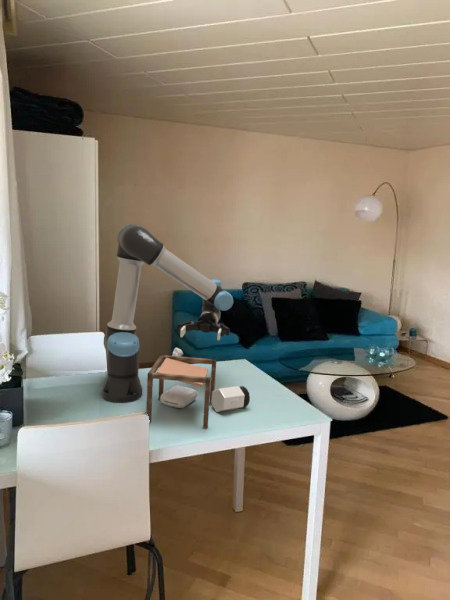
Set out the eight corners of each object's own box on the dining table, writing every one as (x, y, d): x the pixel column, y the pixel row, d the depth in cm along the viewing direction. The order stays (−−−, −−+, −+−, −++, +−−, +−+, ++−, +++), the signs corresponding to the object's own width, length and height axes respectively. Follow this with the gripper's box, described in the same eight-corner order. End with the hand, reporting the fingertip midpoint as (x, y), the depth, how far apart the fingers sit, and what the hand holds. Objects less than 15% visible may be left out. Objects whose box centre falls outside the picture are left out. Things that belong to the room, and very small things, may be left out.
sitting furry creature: (160, 372, 213) (161, 346, 211) (176, 369, 218) (178, 343, 216) (171, 379, 206) (172, 352, 204) (188, 375, 211) (189, 349, 209)
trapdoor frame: (146, 422, 164) (147, 373, 160) (159, 398, 184) (160, 354, 181) (207, 428, 162) (210, 379, 159) (213, 403, 183) (216, 359, 179)
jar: (225, 392, 171) (251, 388, 178) (212, 385, 177) (237, 382, 185) (223, 416, 172) (248, 411, 179) (209, 408, 178) (235, 404, 186)
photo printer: (174, 394, 189) (157, 405, 178) (174, 383, 189) (157, 394, 178) (197, 399, 185) (181, 411, 174) (198, 389, 184) (181, 400, 173)
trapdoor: (156, 374, 163) (156, 372, 163) (165, 360, 178) (166, 357, 178) (201, 387, 162) (202, 384, 162) (207, 371, 178) (207, 369, 178)
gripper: (237, 332, 195) (233, 347, 174) (177, 328, 197) (165, 342, 176) (238, 314, 194) (234, 327, 173) (177, 310, 196) (166, 322, 175)
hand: (199, 335), depth 175 cm, fingers open, 13 cm apart
